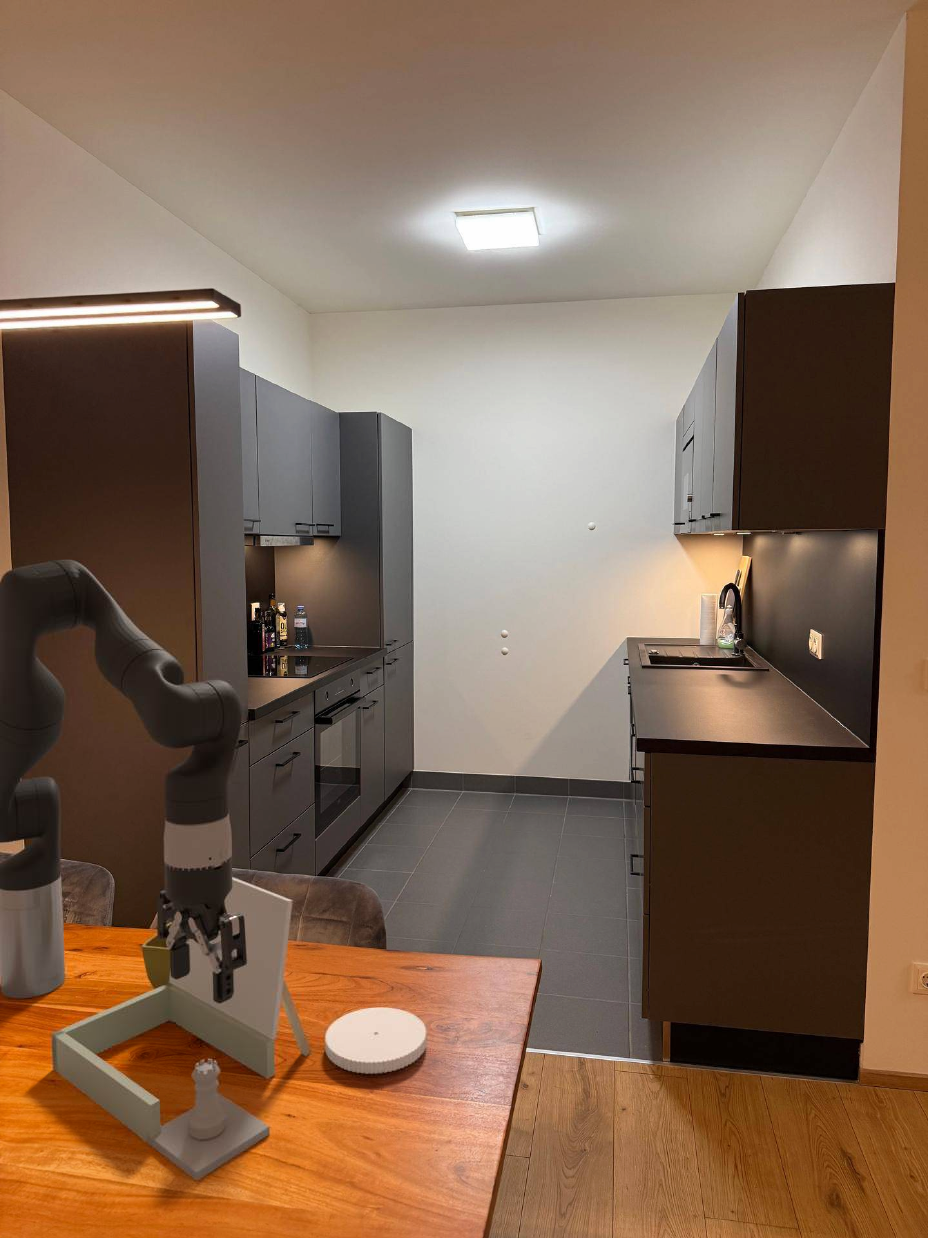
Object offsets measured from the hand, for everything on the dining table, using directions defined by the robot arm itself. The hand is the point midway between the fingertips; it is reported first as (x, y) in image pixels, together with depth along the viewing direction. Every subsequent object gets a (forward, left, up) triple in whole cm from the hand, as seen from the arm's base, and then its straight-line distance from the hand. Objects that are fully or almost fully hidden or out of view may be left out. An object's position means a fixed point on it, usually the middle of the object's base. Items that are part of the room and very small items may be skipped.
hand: (201, 988), depth 104 cm
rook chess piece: (+1, 0, -17) cm, 17 cm away
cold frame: (-15, +7, -18) cm, 25 cm away
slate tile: (+1, 0, -18) cm, 18 cm away
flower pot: (-32, +18, -18) cm, 41 cm away
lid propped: (-15, +14, -13) cm, 25 cm away
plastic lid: (+3, +26, -19) cm, 32 cm away
